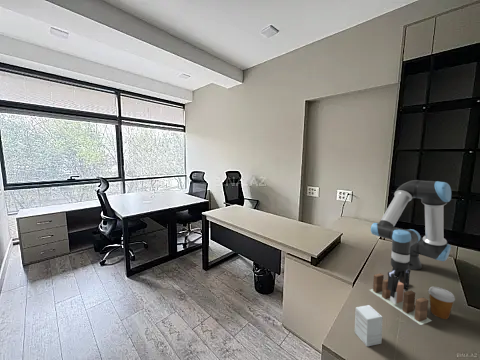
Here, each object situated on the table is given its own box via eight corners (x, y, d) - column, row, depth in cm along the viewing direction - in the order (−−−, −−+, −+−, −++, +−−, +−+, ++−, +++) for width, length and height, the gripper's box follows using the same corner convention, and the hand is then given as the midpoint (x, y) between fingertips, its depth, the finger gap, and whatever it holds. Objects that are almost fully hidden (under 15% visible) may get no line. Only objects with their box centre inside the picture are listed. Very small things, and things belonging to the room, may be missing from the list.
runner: (378, 287, 123) (379, 287, 123) (432, 321, 98) (432, 320, 98) (368, 290, 121) (368, 289, 121) (420, 325, 95) (420, 325, 95)
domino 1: (372, 290, 120) (373, 275, 119) (379, 289, 121) (380, 273, 120) (376, 293, 118) (377, 276, 117) (382, 291, 119) (383, 275, 118)
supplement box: (368, 329, 94) (369, 304, 92) (381, 344, 86) (383, 316, 85) (353, 332, 92) (354, 306, 91) (366, 347, 85) (367, 319, 84)
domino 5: (414, 318, 99) (415, 299, 98) (421, 316, 100) (423, 297, 99) (419, 321, 97) (420, 302, 96) (426, 319, 99) (428, 299, 97)
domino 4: (402, 310, 104) (403, 292, 103) (409, 308, 106) (411, 290, 105) (406, 313, 102) (408, 295, 101) (414, 311, 104) (415, 292, 103)
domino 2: (381, 296, 115) (382, 280, 114) (388, 294, 116) (389, 278, 115) (385, 299, 113) (386, 282, 112) (392, 297, 114) (393, 280, 113)
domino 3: (391, 301, 109) (392, 283, 108) (398, 298, 111) (399, 281, 110) (395, 303, 107) (396, 285, 106) (402, 301, 109) (403, 283, 108)
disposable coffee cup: (456, 325, 95) (458, 301, 94) (429, 317, 100) (431, 294, 99) (449, 311, 103) (451, 289, 102) (424, 305, 108) (426, 283, 107)
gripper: (404, 253, 113) (402, 292, 115) (380, 259, 107) (377, 300, 110) (420, 260, 106) (417, 301, 108) (394, 266, 100) (391, 309, 103)
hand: (397, 300), depth 109 cm, fingers closed on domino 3, 5 cm apart
